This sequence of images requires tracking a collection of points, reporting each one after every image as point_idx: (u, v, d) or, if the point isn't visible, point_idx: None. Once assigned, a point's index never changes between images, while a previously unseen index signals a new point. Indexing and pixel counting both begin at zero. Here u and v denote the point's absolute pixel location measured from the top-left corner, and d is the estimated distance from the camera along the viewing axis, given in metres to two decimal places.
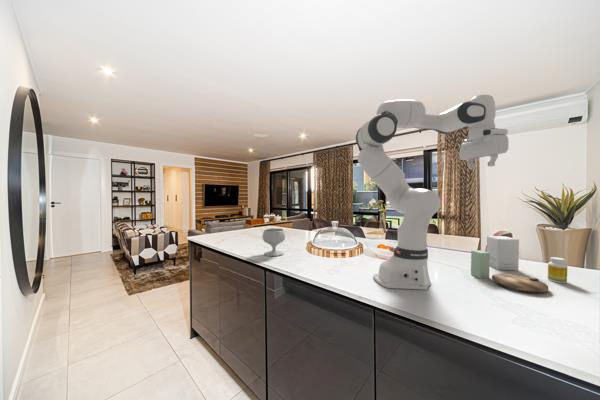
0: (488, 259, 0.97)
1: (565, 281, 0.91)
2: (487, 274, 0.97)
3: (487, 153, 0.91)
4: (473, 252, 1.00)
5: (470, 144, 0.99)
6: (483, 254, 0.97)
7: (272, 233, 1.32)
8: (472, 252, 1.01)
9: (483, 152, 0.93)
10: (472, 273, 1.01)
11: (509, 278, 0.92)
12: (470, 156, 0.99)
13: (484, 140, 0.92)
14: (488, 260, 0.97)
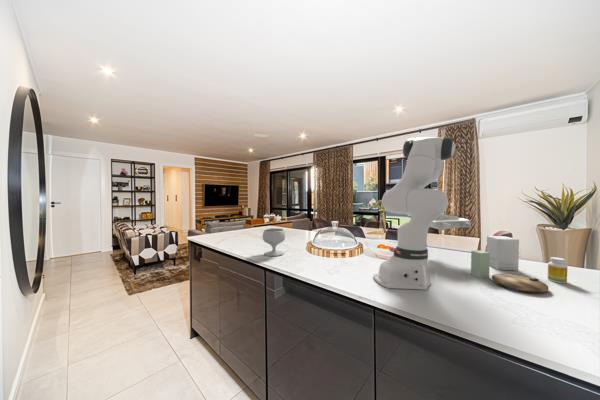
0: (488, 259, 0.97)
1: (565, 281, 0.91)
2: (487, 274, 0.97)
3: (461, 220, 1.16)
4: (473, 252, 1.00)
5: (438, 219, 1.21)
6: (483, 254, 0.97)
7: (272, 233, 1.32)
8: (472, 252, 1.01)
9: (457, 220, 1.17)
10: (472, 273, 1.01)
11: (509, 278, 0.92)
12: (445, 221, 1.16)
13: (451, 218, 1.21)
14: (488, 260, 0.97)
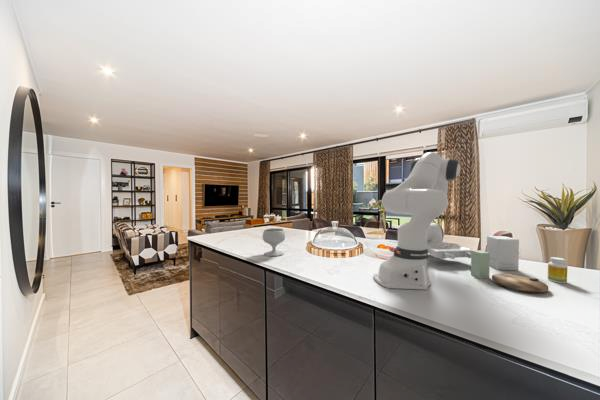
0: (488, 259, 0.97)
1: (565, 281, 0.91)
2: (487, 274, 0.97)
3: (463, 250, 1.14)
4: (473, 252, 1.00)
5: (440, 248, 1.19)
6: (483, 254, 0.97)
7: (272, 233, 1.32)
8: (472, 252, 1.01)
9: (458, 250, 1.15)
10: (472, 273, 1.01)
11: (509, 278, 0.92)
12: (447, 250, 1.14)
13: (453, 247, 1.20)
14: (488, 260, 0.97)
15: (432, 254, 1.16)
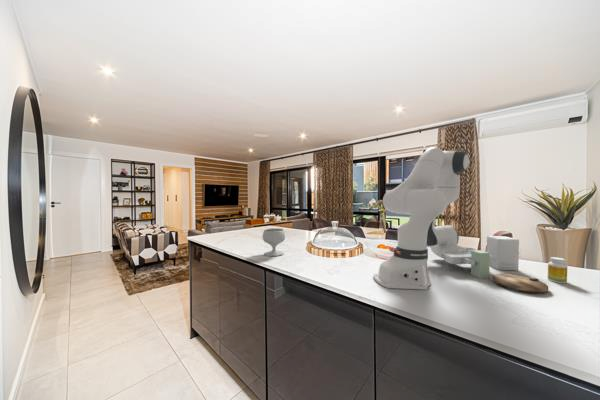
0: (488, 259, 0.97)
1: (565, 281, 0.91)
2: (487, 274, 0.97)
3: None
4: (473, 252, 1.00)
5: (455, 253, 1.09)
6: (483, 254, 0.97)
7: (272, 233, 1.32)
8: (472, 252, 1.01)
9: None
10: (472, 273, 1.01)
11: (509, 278, 0.92)
12: (464, 256, 1.04)
13: (470, 252, 1.09)
14: (488, 260, 0.97)
15: (447, 260, 1.06)
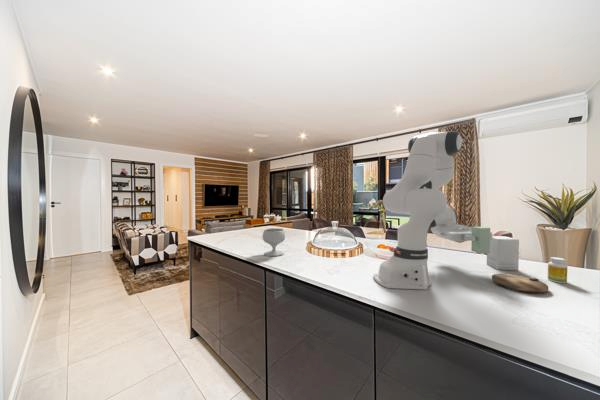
0: (489, 234, 0.97)
1: (565, 281, 0.91)
2: (488, 249, 0.97)
3: None
4: (473, 228, 1.00)
5: (456, 230, 1.08)
6: (484, 229, 0.97)
7: (272, 233, 1.32)
8: (472, 228, 1.00)
9: None
10: (472, 250, 1.01)
11: (509, 278, 0.92)
12: (465, 232, 1.03)
13: (470, 230, 1.09)
14: (489, 235, 0.97)
15: (447, 237, 1.05)
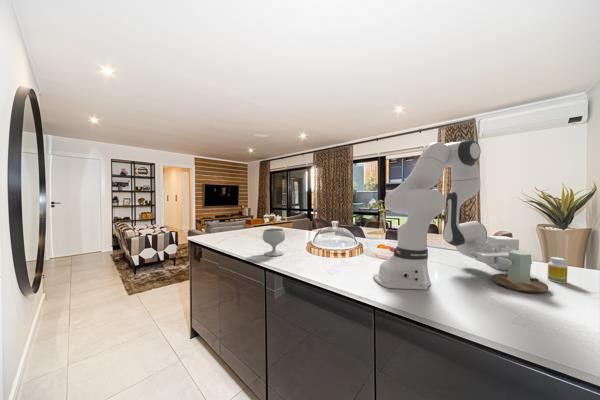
0: (529, 262, 0.87)
1: (565, 281, 0.91)
2: (527, 278, 0.87)
3: None
4: (511, 253, 0.89)
5: (488, 251, 0.98)
6: (524, 256, 0.86)
7: (272, 233, 1.32)
8: (510, 253, 0.90)
9: None
10: (509, 277, 0.90)
11: None
12: (500, 254, 0.93)
13: (503, 250, 0.99)
14: (529, 263, 0.87)
15: (479, 259, 0.95)
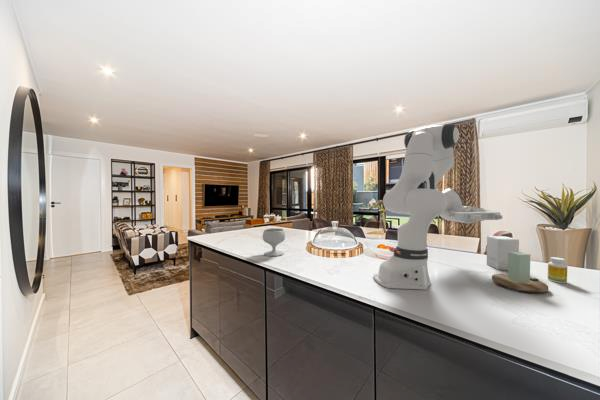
0: (528, 261, 0.87)
1: (565, 281, 0.91)
2: (527, 278, 0.87)
3: (490, 212, 1.06)
4: (510, 254, 0.90)
5: (464, 211, 1.11)
6: (523, 256, 0.86)
7: (272, 233, 1.32)
8: (509, 254, 0.90)
9: (485, 212, 1.06)
10: (509, 277, 0.90)
11: None
12: (473, 212, 1.05)
13: (478, 210, 1.11)
14: (528, 263, 0.87)
15: (456, 217, 1.08)
